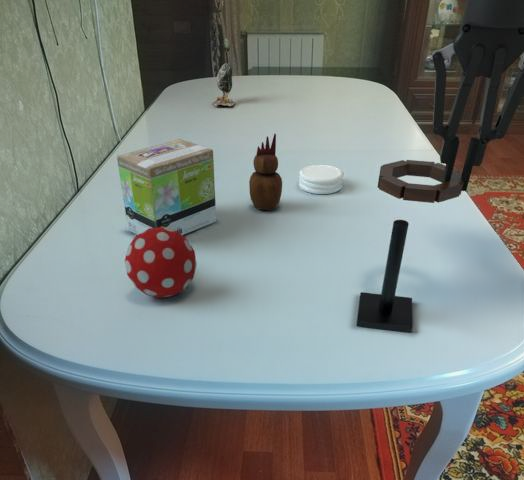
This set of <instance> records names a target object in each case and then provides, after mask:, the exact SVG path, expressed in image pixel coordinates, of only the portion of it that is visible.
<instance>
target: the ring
mask: <svg viewBox="0 0 524 480" xmlns="http://www.w3.org/2000/svg"><path fill="white" fill-rule="evenodd" d="M445 167H446V164H443V163H441V162H435V161H425V160H415V159H405V160H404V159H402V160H397V161H393V162H389V163H385V164H382V165H380V167H379V174H378V181H377V187H376V188H378V190H379V191H381V192H384V193H385V194H388V195H390V196H392V197H393V198H396V199H398V200H400V199H402V201H409V202H419V203H428V204H429V203H431V204H434V203H442V202H445V201H449V200H452V199H456V198H459V197H460V196H461V194H462V192H463V191H462V188H463V184H464V183H463V178H462V172H461V171H460V170H458V169H456V168H453V171H452V176H451V180H450V181H448V182H444V183H442V179H443V175H444V171H445ZM406 176H407V177H408V176H409V177H419V178H421V177H422V178H430V179H432V180H434V181H437V182H440V183H437V184H435V185H432V184H421V183H410V182H406V181H404V180H402V179H400V178H402V177H406Z"/></svg>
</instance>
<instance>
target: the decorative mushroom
mask: <svg viewBox="0 0 524 480" xmlns="http://www.w3.org/2000/svg"><path fill="white" fill-rule="evenodd" d="M124 266H125V270H126V275H127V277H128V279H129V280H130V282H131V283H132V285H133V286H134V288H136V289H138V290H139V291H141V293H143V294H144V295H146V296H150V297H154V298H158V299H162V298H169V297H174V296H176V295H178V294H179V293H181V292H182V291H184V290H185V289H187V287H188V286H189V285H190V283H191V282H192V280H193V279H194V277H195V272H196V269H197V257H196V252H195V249H194V247H193V246H192V245H191V243H190V241H189V239H188V238H186V236H184V235H181V234H180V233H179V232H177V231H176V230H172V229H169V228H165V227H157V228H150V229H147V230H145V231H143V232H142V233H140V234H138V235H135V236H134V237H133V239H132V241H131V242H130V244H129V245H128V246H127V249H126V254H125V259H124Z"/></svg>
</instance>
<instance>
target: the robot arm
mask: <svg viewBox="0 0 524 480" xmlns="http://www.w3.org/2000/svg"><path fill="white" fill-rule="evenodd" d="M453 55H455V56H456V59H457V61H458V63H459V65H460V67H461V71H462V75H461V77H460V81H459V85H458V88H457V92H456V95H455V98H454V101H453V105H452V107H451V111H450V114H449V117H448V121H447V123H446V124H445V123H444V116H445V103H446V101H445V100H446V87H447V67H449V66H450V65H451V63H452V57H453ZM519 58H520V60H519V62H518V68H519V70H518V72H517V74H516V75H515V78H514V80H513V82H512V85H511V87H510V89H509V91H508V94H507V96H506V99H505V100H504V103H503V105H502V107H501V109H500V112H499V114H498V117H497V119H496V121H495V123H494V126H493V121H494V115H495V110H496V104H497V99H498V93H499V90H500V89H499V88H500V86H501V82H502V76H503V74H504V73H506V71H507V70H508V69H509V68H510V67H511V66H512V65H513V64H514V63H515V62H516V61H517V60H518V59H519ZM431 59H432V60H431V61H432V63H433V67H434V70H435V77H434V95H433V113H432V133H433V134H434V135H436V136H440V137H442V138H443V141H442V145H441V150H440V152H439V153H440V154H439V161H440V164H443V165H445V166H446V167H445V171H444V175H443V179H442V182H441V183H444V182H448V181H450V180H451V176H452V171H453V169H454V166H455V164H456V163H455V162H456V160H457V159H456V158H457V156H458V155H457V154H458V150H459V146H460V139H459V136H457V133H458V130H459V126H460V124H461V120H462V117H463V114H464V111H465V108H466V106H467V103H468V99H469V96H470V93H471V90H472V87H473V85H474V83H475V79H476V78H479V77H485V78H486V84H485V89H484V95H483V102H482V108H481V113H480V118H479V125H478V130H477V137H470V140H469V144H468V148H467V153H466V156H465V160H464V164H463V168H462V172H461V173H462V178H463V183H464V184H463V188H462V191H461V192H467V191H468V186H469V182H470V178H471V175H472V171H473V167H480V166H481V165H482V164H483V160H484V157H485V153H486V149H487V146H488V144H489V143H490V142H491V141H493V140H501V139H503V138H504V137H505V136H506V134H507V132H508V129H509V127H510V125H511V124H512V121H513V118H514V116H515V114H516V112H517V110H518V107H519V105H520V103H521V100H522V98H523V96H524V0H466V1H465V4H464V9H463V14H462V18H461V23H460V27H459V30H458V32H457V33H456V34H455V36H454V38H453V40H452V42H451V43H449V44H448V45H447V46H446V45H445V46H444V47H442V48H436V49H434V50H432V52H431Z"/></svg>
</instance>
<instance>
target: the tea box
mask: <svg viewBox="0 0 524 480" xmlns="http://www.w3.org/2000/svg"><path fill="white" fill-rule="evenodd" d="M116 159H117V166H118V172H119V180H120V187H121V192H122V200H123V205H124V211H125V219H126V225H127V230H128V231H129V232H131V233H133V234H134V235H135V236H137V235H138V234H140V233H142V232H143V231H145V230H147V229H150V228H157V227H165V228H169V229H172V230H176V231H177V232H179V233H180V234H181V235H183V236H184V235H186V234H188V233H191V232H194V231H196V230H199V229H201V228H204V227H207V226H209V225H212V224H215V223H216V222H217V207H216V206H217V205H216V187H215V164H214V163H215V160H214V149H212V148H209V147H206V146H203V145H200V144H197V143H194V142H191V141H188V140H185V139H183V138H179V139H174V140H171V141H166V142H163V143H159V144H156V145H153V146H149V147H145V148H141V149H138V150H134V151H130V152H126V153H123V154H120V155H117V156H116Z"/></svg>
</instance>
